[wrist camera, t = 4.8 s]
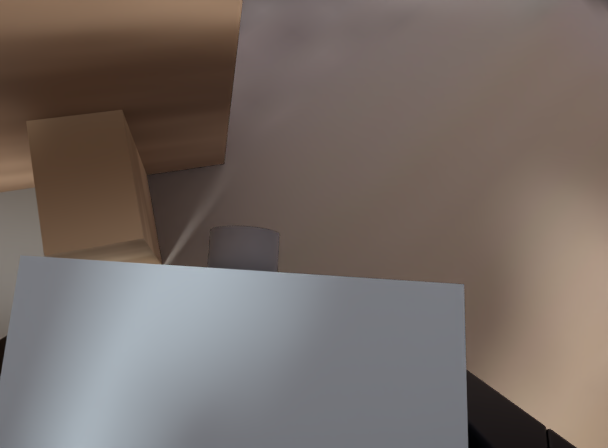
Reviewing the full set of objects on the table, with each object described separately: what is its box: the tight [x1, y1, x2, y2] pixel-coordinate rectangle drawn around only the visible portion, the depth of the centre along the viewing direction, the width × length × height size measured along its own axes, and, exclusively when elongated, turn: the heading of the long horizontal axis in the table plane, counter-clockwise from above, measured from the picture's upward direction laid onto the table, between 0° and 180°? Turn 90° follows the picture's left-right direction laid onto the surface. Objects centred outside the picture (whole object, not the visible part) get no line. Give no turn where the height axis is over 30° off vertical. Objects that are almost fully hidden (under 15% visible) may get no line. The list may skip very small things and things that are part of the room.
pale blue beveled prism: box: [0, 226, 468, 448], centre depth 10 cm, size 5×5×10 cm
